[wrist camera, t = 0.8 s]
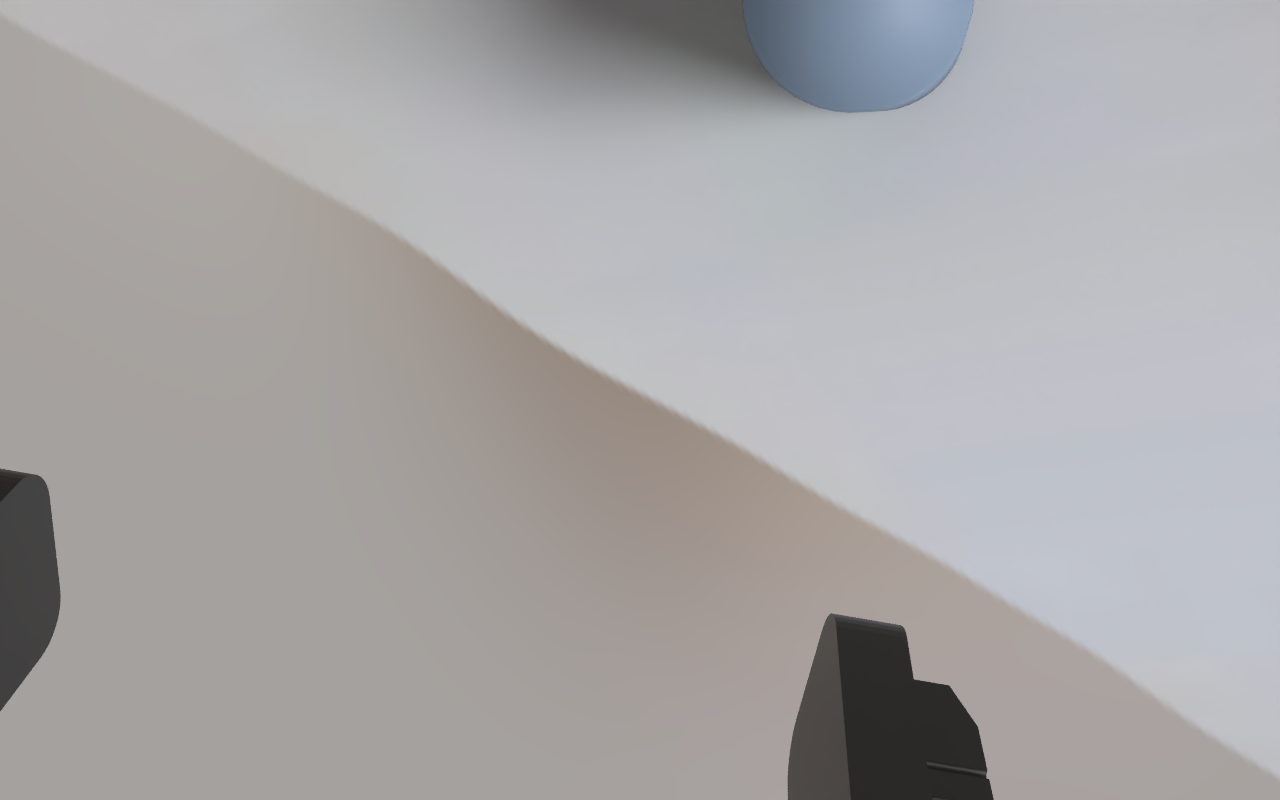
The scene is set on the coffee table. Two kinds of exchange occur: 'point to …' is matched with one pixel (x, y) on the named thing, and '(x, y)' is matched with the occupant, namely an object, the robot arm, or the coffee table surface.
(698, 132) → the coffee table surface
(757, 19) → the peg
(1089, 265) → the coffee table surface
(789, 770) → the robot arm
